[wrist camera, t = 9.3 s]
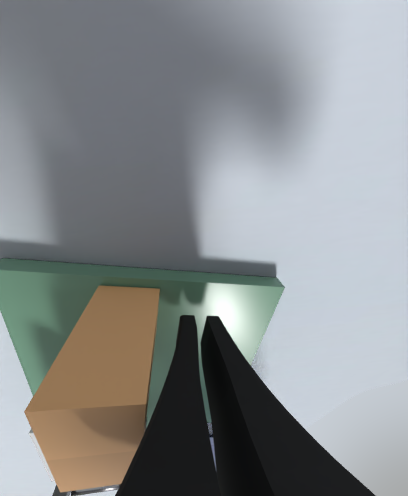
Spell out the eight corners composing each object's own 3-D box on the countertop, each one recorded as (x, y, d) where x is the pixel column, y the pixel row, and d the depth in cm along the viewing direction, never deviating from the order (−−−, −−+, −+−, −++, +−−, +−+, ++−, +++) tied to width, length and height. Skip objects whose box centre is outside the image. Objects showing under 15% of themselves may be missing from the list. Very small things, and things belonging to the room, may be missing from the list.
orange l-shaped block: (153, 360, 12) (140, 481, 8) (105, 361, 12) (60, 492, 7) (159, 288, 10) (146, 404, 5) (98, 285, 9) (24, 411, 5)
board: (223, 408, 19) (238, 486, 14) (55, 421, 16) (9, 523, 12) (276, 277, 12) (334, 348, 8) (3, 258, 9) (-157, 353, 5)
